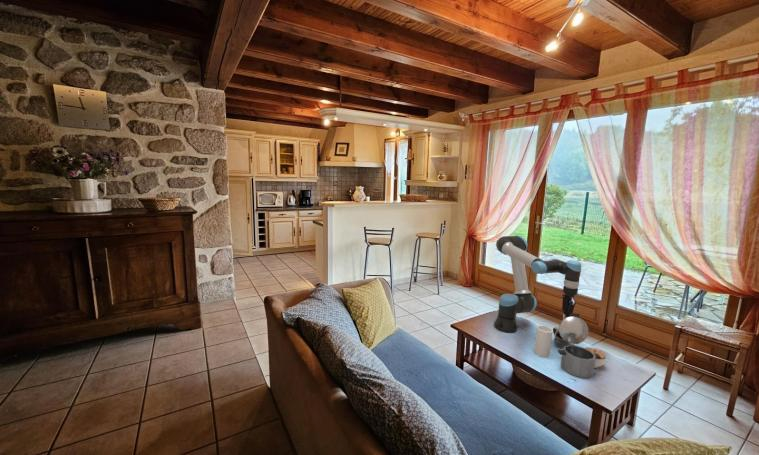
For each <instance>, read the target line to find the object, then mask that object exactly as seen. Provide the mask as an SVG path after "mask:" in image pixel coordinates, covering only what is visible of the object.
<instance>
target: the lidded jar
mask: <svg viewBox="0 0 759 455" xmlns="http://www.w3.org/2000/svg"><path fill="white" fill-rule="evenodd" d="M585 348H586V349H587V350H589V351H591V352H593V353H595V354H598V355H599V356H600V357H601V359H596V358H595V364H594V369H598V368H600V367H602V366H603V365H604V364H605V362H606V358H607V355H606V353H605V352H603V351H602V350H600V349H597V348H596V347H595V348H594V347H588V346H587V347H585Z"/></svg>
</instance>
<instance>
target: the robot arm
mask: <svg viewBox="0 0 759 455" xmlns="http://www.w3.org/2000/svg"><path fill="white" fill-rule="evenodd" d="M528 246H529V245H528V240H527V239H526V238H525V237H523V236H522V235H521V236H520V235H505V236H501V237H499V238H498V239H497V241H496V243H495V247H496V249H497V251H498V252H499V253H501V254H503V255H505V256H509V258H510V263H511V270H512V277H513V283H514V288H515V291H514V292H513V293H504V294H502V295H501V296H500V297H499V301H498V312H497V317H496V318H495V320H494V324H493V328H495V329H496V330H498V331H500V332H503V333H507V334H514V333H517V332H518V323H517V314H523V313H527V314H528V313H532V312H533V311H535V310H536V308H537V305H538V304H537V298H536V297H535V296H534V295H533V294H532V292H531V290H529V284H528V277H527V269H526V266H527V267H529V268H531V270H532V272H533V273H534V274H537V275H544V274H557V273H559V274H562V275H564V279H563V286H562V287H563V288H562V292H563V293H564V294H563V293H562V295H561V296H562V303H561V304H562V306H561V310H562V312H563V316H562V321H563V320H564V319H565V318H567V317H569V313H574V310H575V306H576V305H577V301H575V296H577V295H578V293H579V291H578V290H579V285H580V277H581V274H582V273H581V272H582V263H581V262H580V261H577V260H571V259H570V260H567V261H563V260H560V259H558V258H551V259H548V260H543V259H541V258H539V257H538V256H535V255H533V254H531V253H530V252H527V250H528V248H529V247H528Z"/></svg>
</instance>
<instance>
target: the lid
mask: <svg viewBox="0 0 759 455" xmlns="http://www.w3.org/2000/svg"><path fill="white" fill-rule="evenodd" d="M558 328H559V333H560V336H561V337H562V338H563V339H564V340H565V341H566V342H568V343H571V344H573V345H578V344H579V345H580V344H582V343H584V342H585V341H586V339H587V338H588V337H589V327H588V324H587V323H586V322H585V321H584V319H582V318H580V313H575V312H573V313H569V317H567V318H565V319H564V320H563V319H562V320H561V322H560V324H559V326H558Z"/></svg>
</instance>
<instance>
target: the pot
mask: <svg viewBox="0 0 759 455" xmlns="http://www.w3.org/2000/svg"><path fill="white" fill-rule="evenodd" d="M557 353H558V354H559V355H560V356H561V362H560V367H561V369H562V371H565V372H566V373H567V374H568V375H571V376H573V377H575V378H580V379H591V378H593V375H594V369H595V368H594V364H595V358H596V359H601V357H600V356H599V355H598V354H595V353H593V352H591V351H589V350H587V349H586V347H583V346H579V345H576V344H569V345H566V346H564V348H562V349H557Z"/></svg>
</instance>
